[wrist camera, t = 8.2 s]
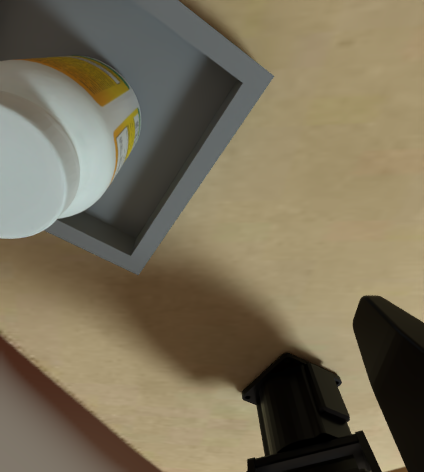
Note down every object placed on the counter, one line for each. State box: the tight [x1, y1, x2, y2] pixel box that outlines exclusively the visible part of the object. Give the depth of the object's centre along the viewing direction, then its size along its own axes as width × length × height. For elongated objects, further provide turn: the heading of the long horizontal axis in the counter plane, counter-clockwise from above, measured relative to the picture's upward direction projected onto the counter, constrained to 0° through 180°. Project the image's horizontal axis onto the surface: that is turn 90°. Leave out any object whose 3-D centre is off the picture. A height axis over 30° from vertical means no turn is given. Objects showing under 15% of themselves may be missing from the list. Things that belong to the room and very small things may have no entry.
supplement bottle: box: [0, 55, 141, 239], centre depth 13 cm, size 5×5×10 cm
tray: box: [0, 0, 274, 275], centre depth 17 cm, size 13×13×2 cm
